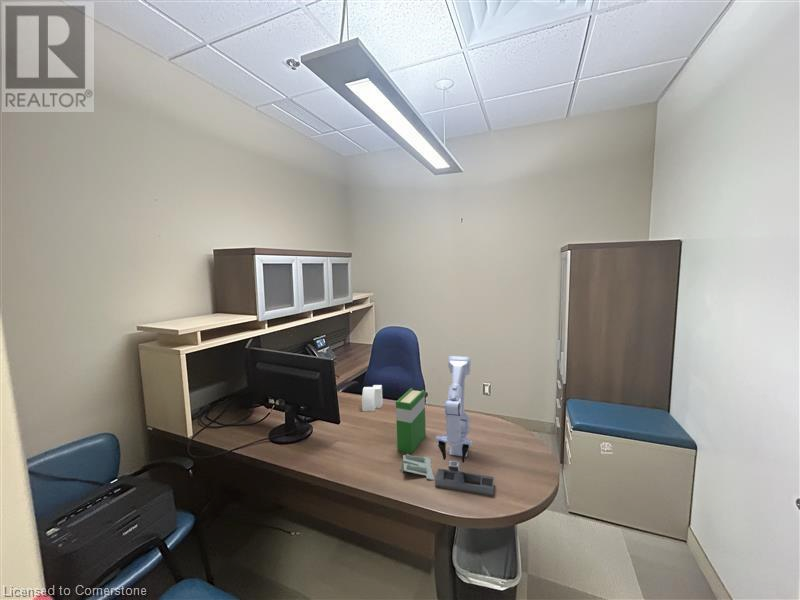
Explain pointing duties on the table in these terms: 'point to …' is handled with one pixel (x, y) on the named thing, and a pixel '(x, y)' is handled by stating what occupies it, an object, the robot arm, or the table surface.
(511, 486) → the table surface
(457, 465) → the cube with square inset
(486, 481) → the rail
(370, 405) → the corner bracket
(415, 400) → the hardback book
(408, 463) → the metal bracket
